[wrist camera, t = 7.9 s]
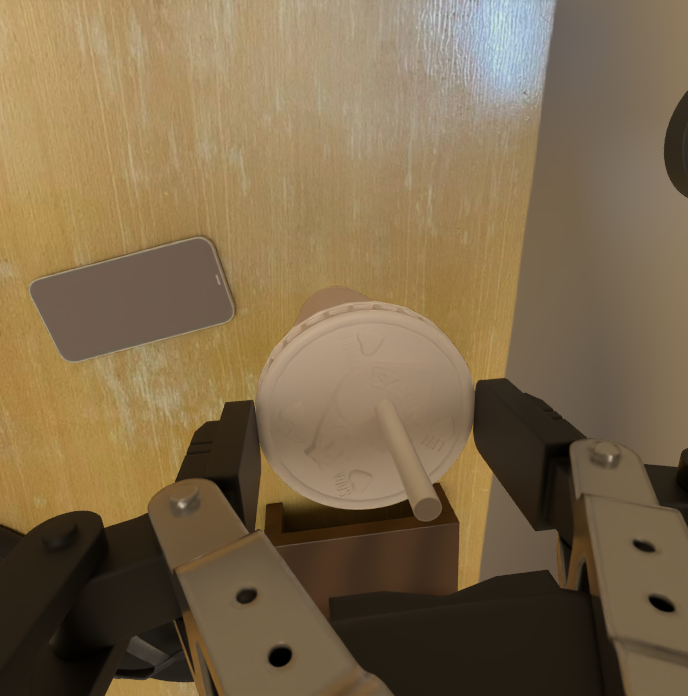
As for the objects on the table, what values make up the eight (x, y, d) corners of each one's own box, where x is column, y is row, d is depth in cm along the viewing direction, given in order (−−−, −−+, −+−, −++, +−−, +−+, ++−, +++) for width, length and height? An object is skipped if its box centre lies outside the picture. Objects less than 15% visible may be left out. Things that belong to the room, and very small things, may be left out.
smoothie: (427, 330, 22) (618, 527, 9) (328, 409, 23) (375, 693, 10) (346, 227, 20) (444, 294, 7) (240, 317, 21) (156, 524, 8)
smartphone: (22, 281, 36) (208, 233, 36) (29, 279, 36) (210, 231, 37) (65, 366, 38) (238, 320, 38) (70, 362, 39) (239, 317, 39)
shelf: (439, 482, 47) (472, 546, 39) (438, 572, 51) (468, 647, 43) (266, 504, 46) (260, 575, 37) (279, 594, 50) (277, 676, 41)
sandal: (-54, 508, 42) (-114, 564, 36) (262, 588, 49) (257, 646, 43) (-79, 607, 45) (-138, 674, 39) (221, 669, 53) (212, 734, 46)
